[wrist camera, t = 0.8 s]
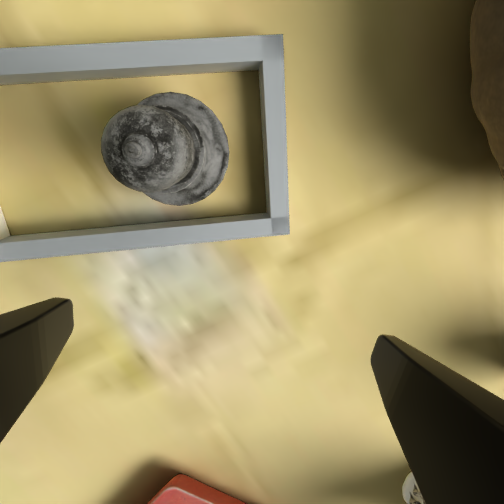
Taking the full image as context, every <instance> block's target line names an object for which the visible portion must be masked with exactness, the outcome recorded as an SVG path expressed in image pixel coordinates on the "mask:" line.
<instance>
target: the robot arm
mask: <svg viewBox="0 0 504 504" xmlns="http://www.w3.org/2000/svg"><path fill="white" fill-rule="evenodd" d="M73 326H74V321H73V304H72V301H71V300H70V299H65V298H51V299H48V300H45V301H42V302H39V303H36V304H32V305H29V306H26V307H23V308H20V309H17V310H14V311H10V312H7V313H4V314H1V315H0V443H1V442H2V440H3V439H4V437H5V436H6V435H7V433H8V432H9V430H10V429H11V427H12V426H13V425H14V423H15V422H16V420H17V419H18V418H19V416H20V415H21V413H22V412H23V411H24V409H25V408H26V406H27V405H28V404H29V402H30V401H31V399H32V398H33V397H34V395H35V394H36V392H37V391H38V390H39V388H40V387H41V385H42V384H43V382H44V381H45V379H46V377H47V376H48V374H49V372H50V370H51V369H52V367H53V365H54V363H55V362H56V360H57V358H58V356H59V355H60V353H61V351H62V349H63V347H64V346H65V344H66V342H67V340H68V339H69V337H70V335H71V333H72V331H73ZM371 366H372V369H373V372H374V375H375V378H376V382H377V385H378V388H379V391H380V394H381V397H382V400H383V404H384V407H385V409H386V412H387V415H388V417H389V420H390V422H391V424H392V427H393V429H394V432H395V434H396V436H397V439H398V441H399V443H400V446H401V448H402V450H403V453H404V455H405V457H406V460H407V462H408V464H409V467H410V469H411V471H412V474H413V476H414V478H415V481H416V483H417V485H418V488H419V490H420V492H421V495H422V497H423V499H424V502H425V504H504V400H503V399H501V398H499V397H498V396H496V395H494V394H493V393H491V392H489V391H487V390H486V389H484V388H482V387H481V386H479V385H477V384H476V383H474V382H472V381H470V380H469V379H467V378H465V377H464V376H462V375H460V374H458V373H457V372H455V371H453V370H452V369H450V368H448V367H446V366H445V365H443V364H441V363H440V362H438V361H436V360H434V359H433V358H431V357H429V356H428V355H426V354H424V353H422V352H421V351H419V350H417V349H416V348H414V347H412V346H411V345H409V344H407V343H405V342H404V341H402V340H400V339H399V338H397V337H395V336H392V335H380V336H379V337H378V338H377V341H376V344H375V346H374V349H373V352H372V355H371Z"/></svg>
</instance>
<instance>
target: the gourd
mask: <svg viewBox="0 0 504 504" xmlns="http://www.w3.org/2000/svg"><path fill="white" fill-rule="evenodd" d="M470 59H471V68H472V84H471V100H472V106H473V109H474V111H475V114H476V116H477V118H478V119H479V121H480V122H481V123H482V125H483V126H484V128H485V131H486V134H487V138H488V142H489V146H490V149H491V152H492V154H493V156H494V158H495V159H496V161H497V163H498V164H499V169H500V172H501V175H502V177H503V179H504V0H476V2H475V4H474V7H473V11H472V15H471V25H470Z"/></svg>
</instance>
